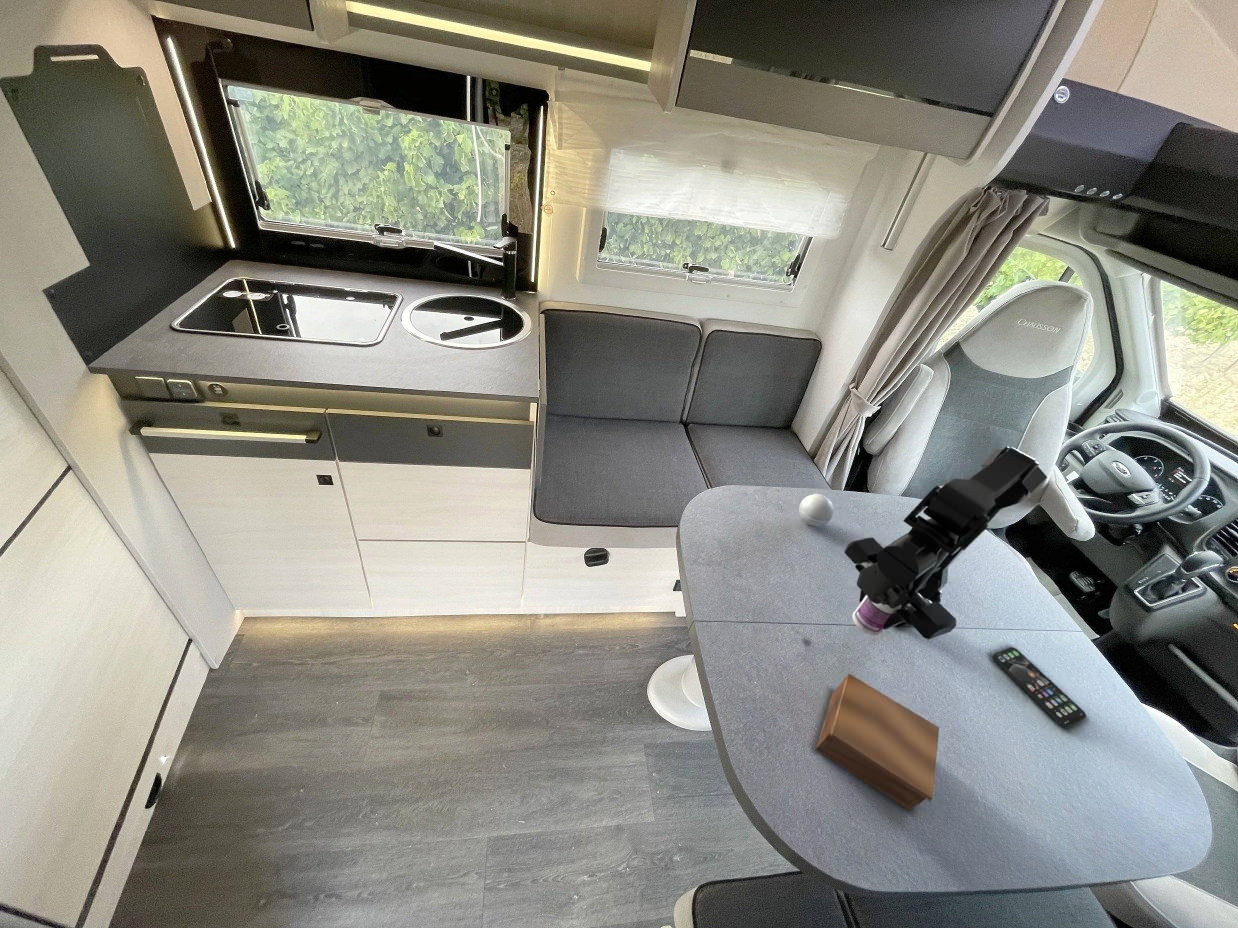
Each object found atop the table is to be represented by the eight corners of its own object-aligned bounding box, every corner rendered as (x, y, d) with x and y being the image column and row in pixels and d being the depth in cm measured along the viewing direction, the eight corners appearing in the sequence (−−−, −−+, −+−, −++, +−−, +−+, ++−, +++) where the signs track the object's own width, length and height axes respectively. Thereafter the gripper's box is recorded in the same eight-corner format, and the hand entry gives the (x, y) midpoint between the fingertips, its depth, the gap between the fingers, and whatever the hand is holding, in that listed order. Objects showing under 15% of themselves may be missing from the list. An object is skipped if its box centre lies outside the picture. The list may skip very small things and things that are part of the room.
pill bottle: (883, 641, 86) (911, 607, 81) (852, 629, 87) (878, 594, 82) (880, 617, 91) (907, 583, 85) (851, 606, 92) (875, 572, 86)
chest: (909, 810, 75) (930, 795, 71) (815, 748, 80) (830, 731, 76) (917, 745, 83) (936, 729, 80) (832, 693, 88) (846, 675, 85)
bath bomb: (796, 506, 129) (808, 483, 124) (826, 518, 127) (840, 495, 123) (792, 525, 123) (804, 501, 118) (824, 537, 121) (838, 514, 116)
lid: (929, 800, 71) (932, 798, 70) (829, 736, 76) (831, 733, 75) (936, 729, 80) (939, 726, 79) (846, 675, 85) (848, 673, 84)
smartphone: (1013, 645, 103) (1088, 715, 92) (1011, 647, 103) (1086, 717, 93) (991, 654, 100) (1066, 727, 89) (989, 656, 100) (1063, 729, 90)
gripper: (841, 521, 82) (804, 582, 91) (934, 614, 68) (879, 675, 78) (889, 511, 86) (849, 571, 95) (984, 598, 73) (927, 656, 82)
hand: (873, 614), depth 87 cm, fingers closed on pill bottle, 5 cm apart
